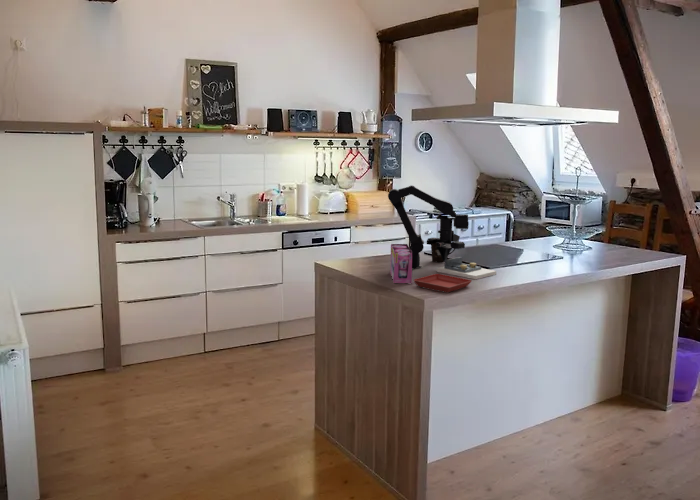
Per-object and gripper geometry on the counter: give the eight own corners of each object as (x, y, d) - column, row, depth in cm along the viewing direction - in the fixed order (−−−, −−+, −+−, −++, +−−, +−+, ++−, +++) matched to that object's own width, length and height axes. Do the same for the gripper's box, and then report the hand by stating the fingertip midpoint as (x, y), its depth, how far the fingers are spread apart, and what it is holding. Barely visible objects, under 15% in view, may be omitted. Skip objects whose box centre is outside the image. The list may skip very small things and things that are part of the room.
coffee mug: (427, 261, 314) (428, 242, 312) (433, 259, 321) (434, 239, 320) (449, 264, 309) (450, 244, 307) (455, 261, 316) (456, 241, 314)
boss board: (475, 279, 277) (475, 270, 276) (436, 271, 292) (436, 262, 292) (496, 274, 287) (496, 265, 287) (457, 266, 303) (457, 258, 302)
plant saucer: (472, 287, 263) (472, 279, 263) (448, 295, 250) (449, 286, 249) (436, 280, 275) (436, 273, 274) (412, 287, 262) (412, 279, 261)
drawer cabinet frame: (465, 272, 283) (465, 263, 282) (444, 268, 291) (444, 259, 290) (481, 269, 291) (481, 260, 290) (460, 265, 299) (460, 256, 299)
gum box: (412, 284, 265) (413, 253, 263) (393, 284, 265) (394, 253, 263) (407, 272, 289) (407, 243, 286) (389, 272, 288) (390, 243, 286)
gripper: (472, 229, 294) (471, 261, 297) (440, 225, 308) (439, 256, 310) (458, 231, 287) (456, 264, 289) (426, 227, 300) (425, 259, 303)
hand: (444, 261), depth 298 cm, fingers closed
